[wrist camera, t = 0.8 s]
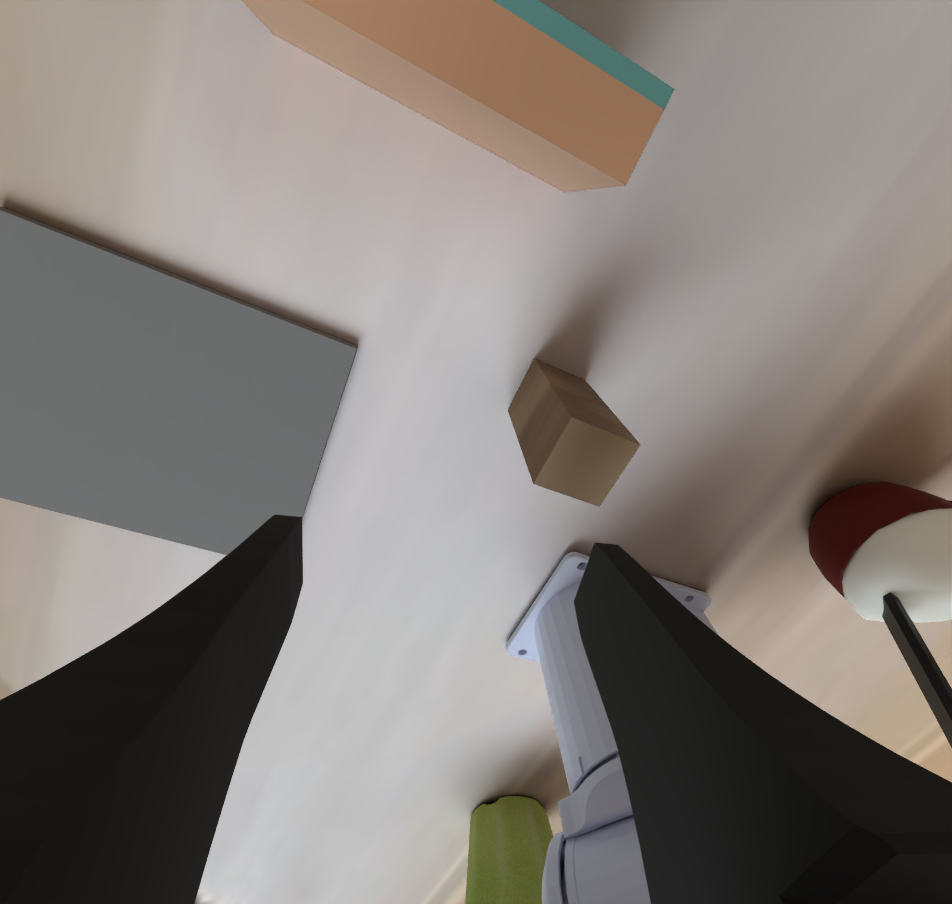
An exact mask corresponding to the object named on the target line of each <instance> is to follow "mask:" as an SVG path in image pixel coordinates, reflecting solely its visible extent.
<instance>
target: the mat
mask: <svg viewBox="0 0 952 904" xmlns="http://www.w3.org/2000/svg"><path fill="white" fill-rule="evenodd" d="M357 348H358V346H356V345H354V344H351V343H349V342H346V341H344V340H341V339H339V338H336V337H333V336H331V335H328V334H326V333H323V332H321V331H318V330H316V329H313V328H310V327H308V326H305V325H303V324H300V323H298V322H295V321H293V320H290V319H287V318H285V317H282V316H280V315H277V314H275V313H272V312H270V311H267V310H264V309H262V308H259V307H257V306H254V305H252V304H249V303H247V302H244V301H241V300H239V299H236V298H234V297H231V296H229V295H226V294H224V293H221V292H218V291H216V290H213V289H211V288H208V287H206V286H203V285H201V284H198V283H195V282H193V281H190V280H188V279H185V278H183V277H180V276H177V275H175V274H172V273H170V272H167V271H165V270H162V269H160V268H157V267H154V266H152V265H149V264H147V263H144V262H142V261H139V260H137V259H134V258H131V257H129V256H126V255H124V254H121V253H119V252H116V251H114V250H111V249H108V248H106V247H103V246H101V245H98V244H96V243H93V242H91V241H88V240H85V239H83V238H80V237H78V236H75V235H73V234H70V233H68V232H65V231H62V230H60V229H57V228H55V227H52V226H50V225H47V224H45V223H42V222H39V221H37V220H34V219H32V218H29V217H27V216H24V215H21V214H19V213H16V212H14V211H11V210H9V209H6V208H4V207H0V498H4V499H8V500H12V501H16V502H19V503H23V504H27V505H31V506H35V507H39V508H43V509H47V510H51V511H55V512H59V513H63V514H67V515H71V516H75V517H79V518H83V519H87V520H91V521H94V522H98V523H102V524H106V525H110V526H114V527H118V528H122V529H126V530H130V531H134V532H138V533H142V534H146V535H150V536H154V537H158V538H162V539H166V540H169V541H173V542H177V543H181V544H185V545H189V546H193V547H197V548H201V549H205V550H209V551H213V552H217V553H221V554H225V555H228V554H229V553H230V552H231V551H233V550H234V549H235V548H236V547H237V546H238V545H240V544H241V543H242V542H243V541H244V540H245V539H247V538H248V537H249V536H250V535H251V534H252V533H253V532H255V531H256V530H257V529H258V528H259V527H260V526H261V525H262V524H264V523H265V522H266V521H267V520H268V519H269V518H271V517H272V516H273V515H286V516H297V517H303V514H304V511H305V508H306V505H307V502H308V499H309V496H310V493H311V490H312V487H313V484H314V480H315V477H316V474H317V471H318V468H319V465H320V462H321V459H322V456H323V453H324V450H325V447H326V444H327V440H328V437H329V434H330V431H331V428H332V425H333V422H334V419H335V416H336V413H337V410H338V407H339V404H340V400H341V397H342V394H343V391H344V388H345V385H346V382H347V379H348V376H349V373H350V370H351V367H352V364H353V361H354V357H355V354H356V351H357Z"/></svg>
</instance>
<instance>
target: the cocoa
mask: <svg viewBox="0 0 952 904" xmlns="http://www.w3.org/2000/svg"><path fill="white" fill-rule="evenodd" d="M808 533H809V549H810V554H811V556H812V558H813V560H814V561H815V563H816V565H817V567H818V568H819V570H820V571H821V572H822V574H823V575H824V577H825V578H826V579H827V580H828V581H829V582H830V583H831V584H832V585H833V587H834V588H835V589H836V590H837V591H838V592H839V593H840V594H841V595H842V596H843V597H844V598H846V599H847V601H848V602H849V603H850V605H851V606H852V607H853V608H854V610H855V611H856V612H857V613H858V614H859V615H860V616H861V617H862V618H864V619H866V620H874V621H882V622H885V623H886V625H887V627H888V629H889V630H890V632H891V634H892V636H893V638H894V640H895V642H896V644H897V645H898V647H899V649H900V651H901V653H902V655H903V657H904V659H905V661H906V662H907V664H908V666H909V668H910V670H911V672H912V674H913V676H914V678H915V679H916V681H917V683H918V685H919V687H920V689H921V691H922V693H923V694H924V696H925V698H926V700H927V702H928V704H929V706H930V708H931V710H932V711H933V713H934V715H935V717H936V719H937V721H938V723H939V725H940V726H941V728H942V730H943V732H944V734H945V736H946V738H947V740H948V742H949V743H950V745H951V747H952V689H951V687H950V685H949V683H948V682H947V680H946V678H945V677H944V675H943V673H942V671H941V670H940V668H939V666H938V665H937V663H936V661H935V659H934V658H933V656H932V654H931V653H930V651H929V649H928V648H927V646H926V644H925V642H924V641H923V639H922V637H921V636H920V634H919V632H918V630H917V629H916V627H915V625H914V624H913V622H919V623H925V622H934V621H945V620H950V619H952V501H947V500H945V499H943V498H940V497H937V496H935V495H932V494H929V493H926V492H923V491H920V490H916V489H913V488H909V487H906V486H901V485H897V484H893V483H889V482H875V483H868V484H863V485H857V486H852V487H850V488H848V489H846V490H845V491H843V492H841V493H839V494H837V495H835V496H833V497H832V498H830V499H829V500H828V501H827V502H826V503H825V504H824V505H823V506H822V507H821V508H820V509H819V510H818V511H817V512H816V514H815V516H814V518H813V520H812V522H811V524H810V526H809V528H808Z"/></svg>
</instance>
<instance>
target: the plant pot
mask: <svg viewBox="0 0 952 904" xmlns="http://www.w3.org/2000/svg"><path fill="white" fill-rule="evenodd" d="M552 838H553V834H552V830H551V827H550V823H549V820H548V816H547V813H546V810H545V809H544V808H542V807H541V805H540V804H539V803H538V801H536V800H534V799H532V798H528V797H521V796H505V797H501V798H499V799H498V800H497V801H496V802H495V803H493V804H489V805H486V804H482V805H480V806H479V807H477V808H476V809H475V810H474V812H473V813H472V815H471V821H470V835H469V854H468V870H467V885H466V899H465V904H542V877H543V870H544V866H545V861H546V855H547V850H548V847H549V844H550V841H551V839H552Z"/></svg>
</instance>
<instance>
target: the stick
mask: <svg viewBox="0 0 952 904" xmlns="http://www.w3.org/2000/svg"><path fill="white" fill-rule="evenodd" d="M508 412H509V415H510V418H511V421H512V424H513V427H514V429H515V432H516V435H517V438H518V441H519V444H520V447H521V450H522V452H523V455H524V458H525V461H526V464H527V467H528V470H529V473H530V475H531V478H532V481H533V484H536V485H538V486H541V487H544V488H547V489H550V490H553V491H556V492H559V493H561V494H564V495H567V496H570V497H573V498H576V499H579V500H582V501H584V502H587V503H590V504H593V505H596V506H600V505H601V503H602V502H603V500H604V499H605V497H606V496H607V494H608V493H609V491H610V490H611V488H612V487H613V485H614V484H615V482H616V481H617V479H618V478H619V476H620V475H621V473H622V472H623V470H624V469H625V467H626V466H627V464H628V463H629V461H630V460H631V458H632V457H633V455H634V454H635V452H636V451H637V449H638V448H639V446H640V444H639V442H638V441H637V440H636V439H635V438H634V437H633V435H632V434H631V433H630V432H629V431H628V430H627V428H626V427H625V426H624V425H623V424H622V423H621V421H620V420H619V419H618V418H617V417H616V416H615V414H614V413H613V412H612V411H611V410H610V409H609V407H608V406H607V405H606V404H605V403H604V402H603V400H602V399H601V398H600V397H599V396H598V395H597V393H596V392H595V391H594V390H593V389H592V388H591V386H590V385H589V384H588V383H587V382H586V381H585V380H583V379H581V378H578V377H576V376H574V375H571V374H569V373H567V372H564V371H562V370H560V369H557V368H555V367H553V366H550V365H548V364H546V363H543V362H541V361H539V360H536V359H533V361H532V363H531V365H530V367H529V369H528V371H527V373H526V375H525V377H524V379H523V381H522V383H521V385H520V387H519V389H518V391H517V393H516V395H515V397H514V399H513V401H512V403H511V405H510V407H509V409H508Z"/></svg>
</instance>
